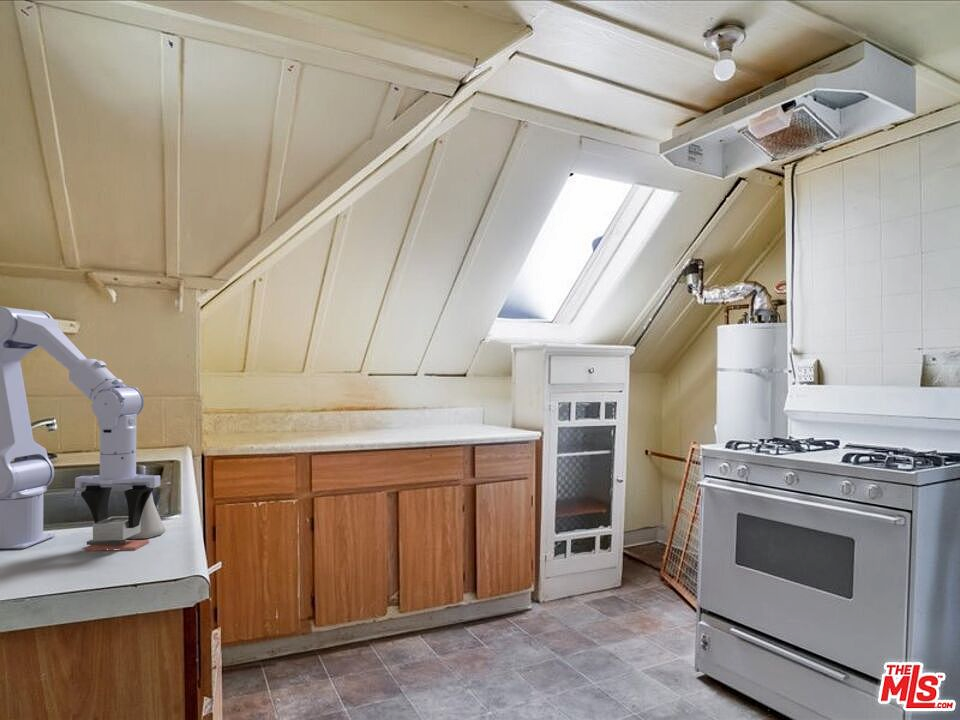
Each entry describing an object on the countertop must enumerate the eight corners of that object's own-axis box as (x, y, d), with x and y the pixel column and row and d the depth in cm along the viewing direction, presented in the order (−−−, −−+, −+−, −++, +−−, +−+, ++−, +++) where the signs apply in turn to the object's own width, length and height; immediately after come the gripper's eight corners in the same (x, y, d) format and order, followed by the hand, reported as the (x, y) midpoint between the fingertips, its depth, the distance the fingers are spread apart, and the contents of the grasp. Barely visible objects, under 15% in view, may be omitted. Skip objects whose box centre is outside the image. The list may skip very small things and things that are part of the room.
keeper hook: (80, 550, 104) (80, 524, 104) (96, 543, 109) (96, 517, 109) (135, 550, 104) (135, 523, 105) (149, 542, 109) (149, 517, 109)
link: (92, 540, 104) (92, 523, 104) (111, 532, 109) (111, 516, 109) (123, 539, 104) (123, 523, 104) (140, 531, 109) (140, 515, 109)
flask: (172, 530, 117) (172, 480, 117) (148, 541, 110) (148, 488, 110) (139, 529, 118) (139, 480, 118) (113, 540, 111) (113, 487, 111)
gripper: (63, 456, 103) (62, 533, 103) (145, 455, 103) (144, 532, 103) (89, 450, 110) (89, 522, 110) (166, 450, 110) (166, 522, 110)
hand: (117, 526), depth 107 cm, fingers closed on link, 5 cm apart
